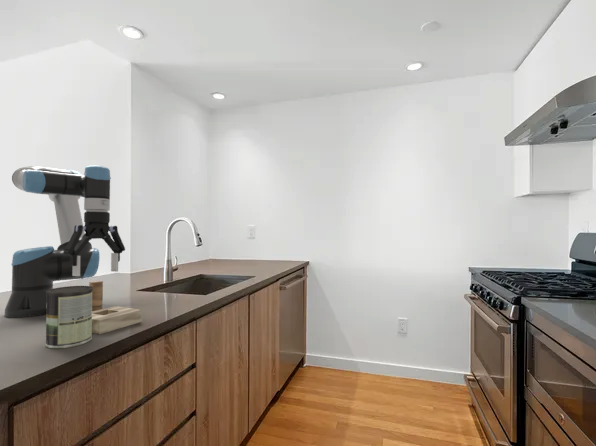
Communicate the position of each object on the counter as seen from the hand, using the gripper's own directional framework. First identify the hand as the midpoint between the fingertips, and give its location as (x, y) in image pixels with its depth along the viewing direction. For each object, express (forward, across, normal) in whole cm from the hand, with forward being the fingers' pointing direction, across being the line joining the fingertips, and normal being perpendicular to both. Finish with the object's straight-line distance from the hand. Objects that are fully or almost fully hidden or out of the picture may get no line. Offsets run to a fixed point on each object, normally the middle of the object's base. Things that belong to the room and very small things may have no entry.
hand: (96, 273), depth 113 cm
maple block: (+15, -5, -13) cm, 20 cm away
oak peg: (+15, 0, 0) cm, 15 cm away
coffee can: (+15, -19, -17) cm, 30 cm away
